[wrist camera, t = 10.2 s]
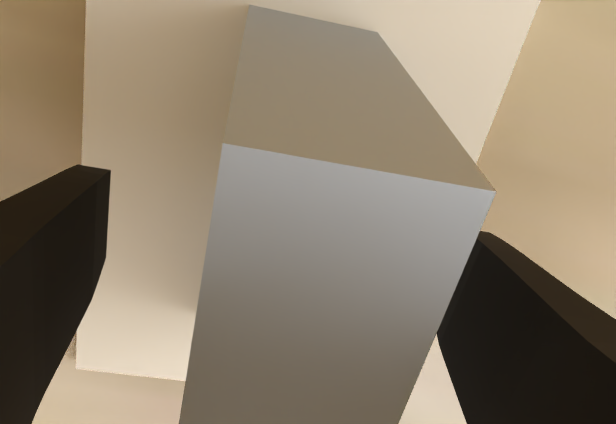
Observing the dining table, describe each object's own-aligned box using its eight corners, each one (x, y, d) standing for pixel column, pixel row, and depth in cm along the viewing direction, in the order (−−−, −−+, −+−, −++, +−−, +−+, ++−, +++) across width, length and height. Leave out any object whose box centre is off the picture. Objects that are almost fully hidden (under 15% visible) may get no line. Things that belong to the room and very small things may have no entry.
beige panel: (379, 394, 20) (381, 403, 19) (79, 359, 18) (75, 368, 18) (586, -137, 12) (595, -138, 12) (99, -274, 11) (93, -279, 10)
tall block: (377, 32, 13) (496, 190, 6) (297, 327, 17) (315, 618, 10) (249, 4, 13) (223, 142, 6) (199, 314, 17) (150, 609, 10)
